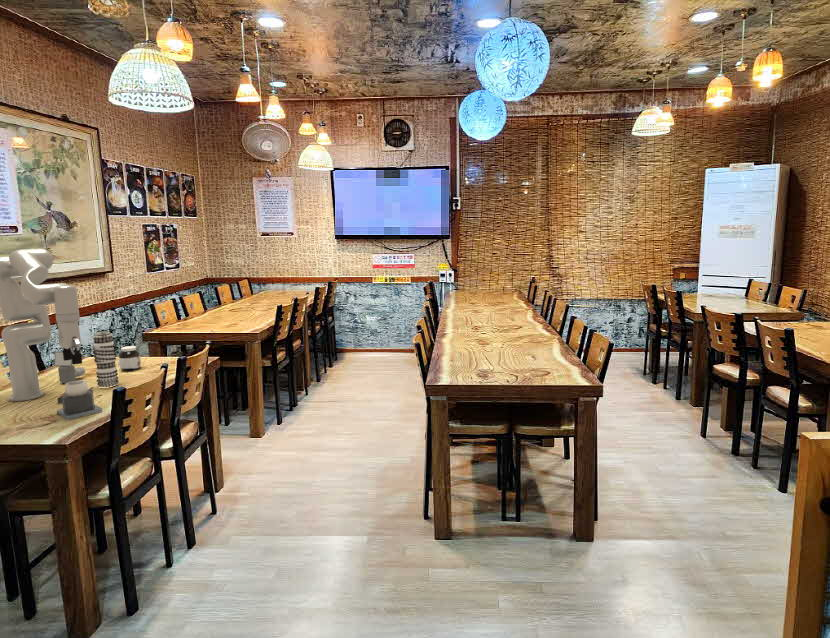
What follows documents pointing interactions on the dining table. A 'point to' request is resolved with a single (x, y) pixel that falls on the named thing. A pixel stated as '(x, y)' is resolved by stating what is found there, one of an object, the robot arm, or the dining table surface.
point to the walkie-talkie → (65, 393)
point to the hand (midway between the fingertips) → (72, 361)
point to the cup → (76, 388)
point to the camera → (67, 369)
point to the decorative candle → (105, 359)
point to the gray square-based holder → (78, 406)
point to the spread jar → (129, 359)
